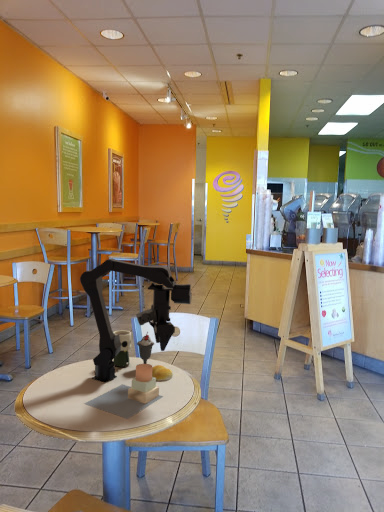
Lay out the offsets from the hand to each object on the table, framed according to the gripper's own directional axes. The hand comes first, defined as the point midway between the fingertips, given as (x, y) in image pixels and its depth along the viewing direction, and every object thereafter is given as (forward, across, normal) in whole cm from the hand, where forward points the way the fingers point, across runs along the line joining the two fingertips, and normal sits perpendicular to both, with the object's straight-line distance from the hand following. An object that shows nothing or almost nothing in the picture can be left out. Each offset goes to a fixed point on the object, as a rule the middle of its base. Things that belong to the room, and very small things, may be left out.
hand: (160, 346), depth 141 cm
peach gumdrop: (+7, +11, -7) cm, 15 cm away
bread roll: (+13, -5, +2) cm, 15 cm away
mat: (+13, +12, -13) cm, 22 cm away
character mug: (+13, -20, -11) cm, 26 cm away
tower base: (+13, +11, -7) cm, 18 cm away
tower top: (+10, +11, -7) cm, 16 cm away
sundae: (+13, -14, -3) cm, 20 cm away
